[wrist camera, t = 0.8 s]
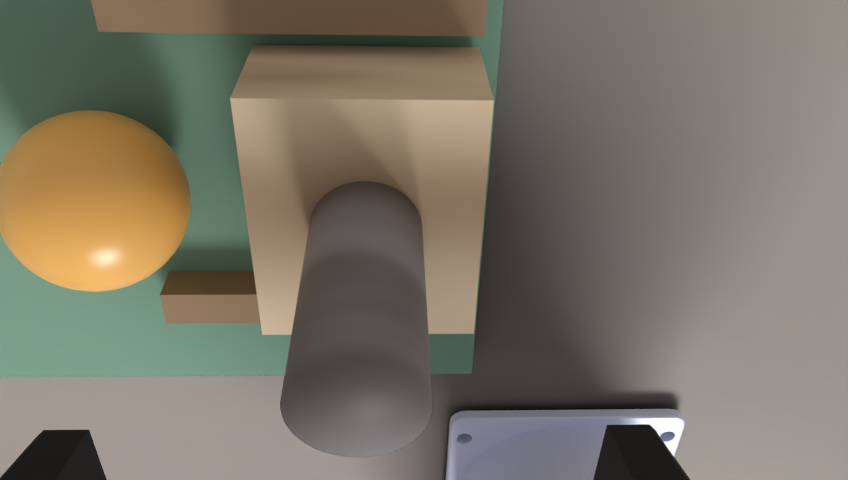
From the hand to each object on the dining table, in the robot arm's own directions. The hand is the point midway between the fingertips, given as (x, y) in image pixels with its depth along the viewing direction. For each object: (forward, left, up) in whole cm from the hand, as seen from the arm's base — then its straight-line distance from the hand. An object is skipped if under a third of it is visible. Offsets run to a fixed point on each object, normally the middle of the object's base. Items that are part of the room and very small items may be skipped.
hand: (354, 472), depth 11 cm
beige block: (0, 0, -9) cm, 9 cm away
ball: (0, +6, -7) cm, 10 cm away
